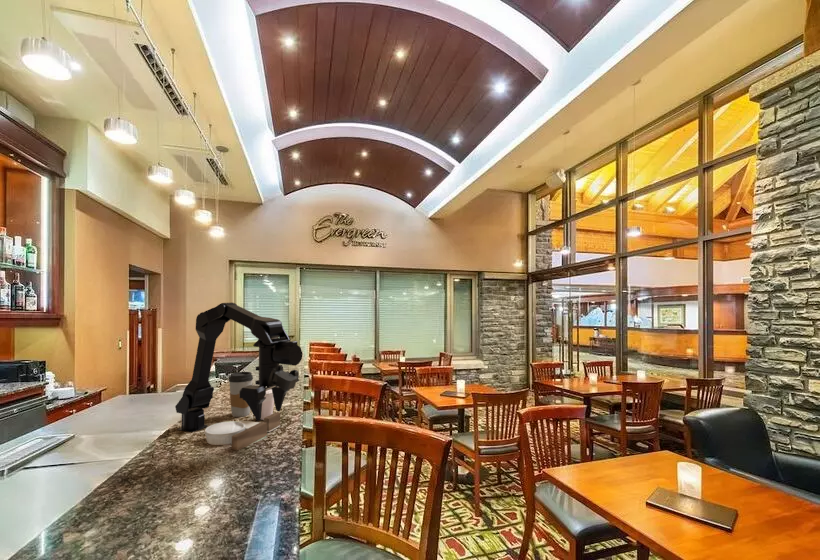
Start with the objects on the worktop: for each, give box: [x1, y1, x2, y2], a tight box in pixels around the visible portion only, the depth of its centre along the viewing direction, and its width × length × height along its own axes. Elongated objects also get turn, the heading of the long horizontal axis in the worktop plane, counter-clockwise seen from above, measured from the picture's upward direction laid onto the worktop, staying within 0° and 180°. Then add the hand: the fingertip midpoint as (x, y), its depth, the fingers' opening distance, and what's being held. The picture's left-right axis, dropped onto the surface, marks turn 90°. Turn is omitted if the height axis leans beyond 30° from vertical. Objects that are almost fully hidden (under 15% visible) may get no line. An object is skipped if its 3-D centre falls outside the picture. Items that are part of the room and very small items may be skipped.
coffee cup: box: [228, 371, 254, 418], centre depth 151 cm, size 8×8×15 cm
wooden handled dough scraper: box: [231, 421, 268, 451], centre depth 124 cm, size 16×13×4 cm
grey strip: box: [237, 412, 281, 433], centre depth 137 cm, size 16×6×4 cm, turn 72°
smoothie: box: [260, 389, 275, 421], centre depth 147 cm, size 6×6×14 cm
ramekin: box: [204, 420, 246, 446], centre depth 125 cm, size 11×11×5 cm
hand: (268, 415), depth 120 cm, fingers open, 9 cm apart
